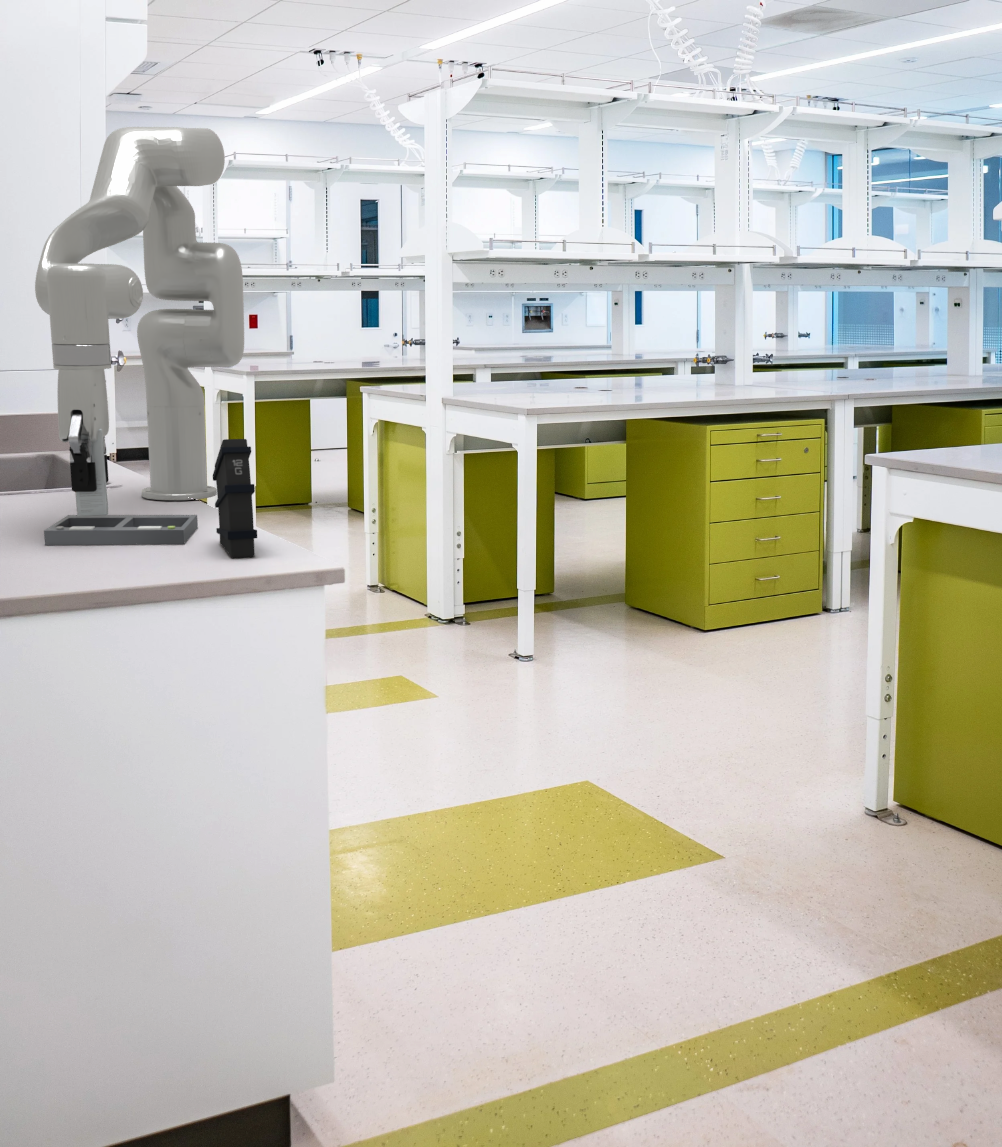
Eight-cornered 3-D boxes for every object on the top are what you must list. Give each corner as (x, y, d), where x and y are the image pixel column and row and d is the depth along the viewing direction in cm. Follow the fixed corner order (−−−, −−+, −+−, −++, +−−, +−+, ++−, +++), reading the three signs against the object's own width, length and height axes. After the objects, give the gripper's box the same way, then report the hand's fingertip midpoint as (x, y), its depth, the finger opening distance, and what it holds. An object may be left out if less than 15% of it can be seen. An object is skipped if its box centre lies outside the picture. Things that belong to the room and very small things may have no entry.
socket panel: (68, 528, 173) (67, 513, 173) (197, 528, 175) (197, 512, 175) (44, 545, 160) (43, 528, 160) (184, 544, 162) (183, 527, 162)
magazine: (231, 550, 150) (220, 438, 153) (220, 575, 162) (210, 471, 165) (261, 549, 151) (250, 437, 154) (248, 574, 163) (237, 470, 166)
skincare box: (76, 509, 169) (70, 425, 167) (107, 508, 171) (102, 424, 168) (76, 516, 164) (70, 429, 161) (108, 515, 165) (103, 429, 162)
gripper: (69, 353, 170) (78, 477, 174) (36, 361, 154) (46, 497, 158) (123, 354, 171) (130, 477, 175) (95, 361, 154) (104, 497, 158)
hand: (90, 485), depth 166 cm, fingers closed on skincare box, 6 cm apart
